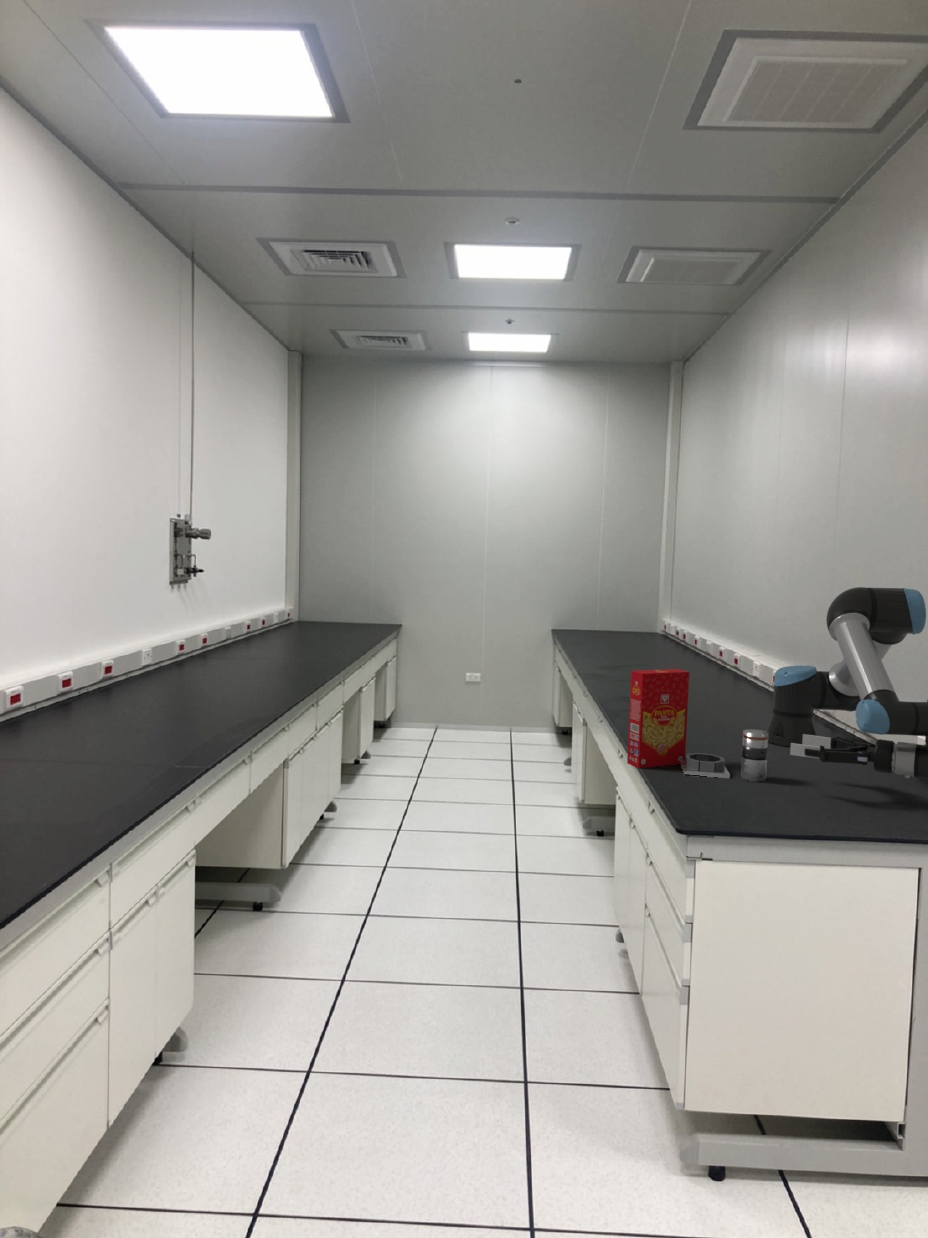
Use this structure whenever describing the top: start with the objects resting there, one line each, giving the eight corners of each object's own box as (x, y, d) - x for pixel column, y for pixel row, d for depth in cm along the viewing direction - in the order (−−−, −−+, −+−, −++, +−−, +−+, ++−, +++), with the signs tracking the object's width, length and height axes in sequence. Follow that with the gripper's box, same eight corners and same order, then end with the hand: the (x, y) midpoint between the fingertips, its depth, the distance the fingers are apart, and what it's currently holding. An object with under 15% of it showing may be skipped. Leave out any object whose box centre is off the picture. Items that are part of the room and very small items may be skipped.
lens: (763, 776, 208) (766, 730, 207) (768, 782, 202) (771, 735, 201) (738, 774, 209) (740, 728, 208) (742, 781, 203) (745, 733, 202)
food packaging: (638, 768, 213) (642, 673, 211) (627, 763, 218) (631, 670, 216) (684, 764, 218) (689, 671, 216) (672, 759, 223) (677, 669, 221)
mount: (722, 767, 216) (723, 754, 216) (729, 778, 205) (730, 764, 205) (680, 764, 218) (680, 751, 217) (684, 775, 207) (685, 761, 206)
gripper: (886, 784, 177) (784, 769, 189) (899, 763, 198) (806, 750, 210) (888, 750, 177) (786, 737, 188) (901, 733, 197) (808, 721, 209)
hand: (796, 744), depth 199 cm, fingers open, 13 cm apart
